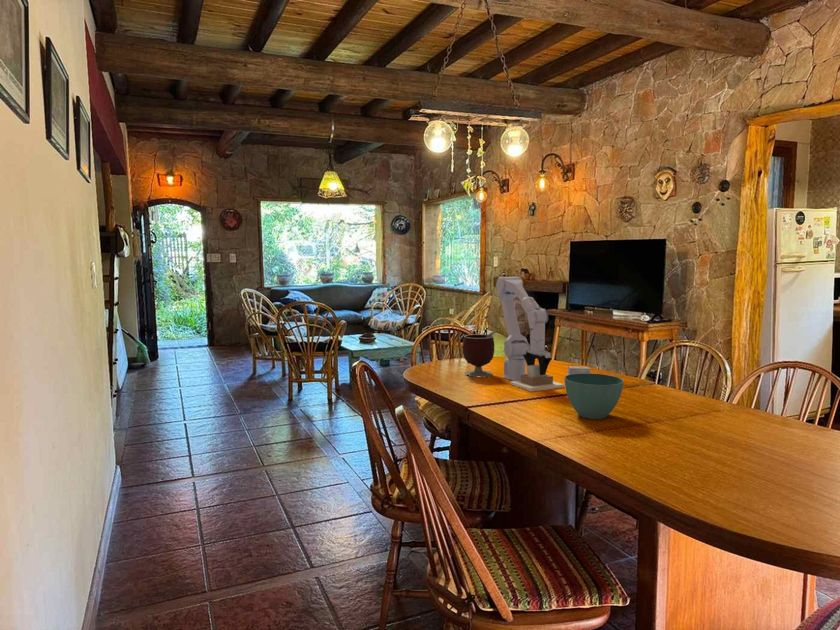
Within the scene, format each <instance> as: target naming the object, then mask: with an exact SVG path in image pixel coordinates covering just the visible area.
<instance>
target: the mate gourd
mask: <svg viewBox="0 0 840 630" xmlns="http://www.w3.org/2000/svg"><path fill="white" fill-rule="evenodd" d="M498 332H499V330H494V331H491V332H489V334H484V333H483V334H481V333H479V334H476V333H475V334H466V335H463V339H462V353H463V354H462V355H463V359H464V360H465V361H466V362H467V364H470V365H472V366H473V367H474V370H466V371H465V372H464V375H465V374H466V375H470V376H481V377H480V378H484V377H483V376H489V377H492V376H493V372H492V371H489V370H483V367H484V366H485V365H488V364H490V363H491V362H492V360H493V358H494V356H495V341H494V340H495V339H494V336H493V335H494V334H496V333H498ZM466 375H465V376H466ZM491 375H492V376H491Z"/></svg>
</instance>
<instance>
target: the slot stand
mask: <svg viewBox="0 0 840 630" xmlns="http://www.w3.org/2000/svg"><path fill="white" fill-rule="evenodd" d="M510 384H511V385H510ZM509 385H510V386H513V385H514V386H513V387H517V388H519V387H520V388H519V389H522V388H523V389H522V390H525V389H526V390H525V391H528V392H538V391H546V390H553V389H561V388H563V389H564V388H565V383H561V382H557V381H554V376H553V375H550V374H546V375H545V376H544V377H536V378H533V377H529V376H527V373H526V374H525V375H521V380H519V381H513V380H510V381H509Z"/></svg>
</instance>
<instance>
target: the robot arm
mask: <svg viewBox="0 0 840 630" xmlns="http://www.w3.org/2000/svg"><path fill="white" fill-rule="evenodd" d="M495 283H496V284H495V288H496V292H497V297H498V298H499V299H500V303H501V309H502V312H503V318H504V322H505V327H506V330H507V335H508V336H507V337H506V339H504V341H503V346H504V348H503V351H504V354H505V356H506V358H505V359H504V362H503V375H502V378H504V379H507V380H510V381H520V380H521V375H525V374H527V372H526V371H527V366H529V365H536V363H535V362H536V359H537V363H538V365H539V367H540V375H545V374H546V373H547V371H548V367H549V365H550V363H551V361H552V360H553V359H552V357H551V356H552V353H551V352H549V351H548V350H545V345H546V343H545V341H546V340H545V339H546V335H545V334H546V324H547V323H548V321H549V314H548V311H547V309H546V308H542V307H541V306H540V305H539V304H538V303H537V302H536V300H535V299H534V297H532V296H529V295H528V293H527V291H526V290H525V288H524V282H523V280H522V278H521V277H520V276H517V275H516V276H499V277H498V278H497V280H496V282H495ZM515 298H518V299H519V300H520V307H521V308H522V309H523V311H524V312H525V313H526V315H527V316H526V317H527V321H528V328H529V331H530V332H529V342H528V339H527V338H526V336H524V335H523V334H521V330H520V325H519V321H518V317H517V312H516V309H515V303H514V299H515ZM537 356H538V357H537ZM539 356H540V357H539Z"/></svg>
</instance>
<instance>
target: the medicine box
mask: <svg viewBox="0 0 840 630" xmlns="http://www.w3.org/2000/svg"><path fill="white" fill-rule="evenodd" d="M578 373H591V368H590V367H589V366H567V375H570V374H578Z"/></svg>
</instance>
